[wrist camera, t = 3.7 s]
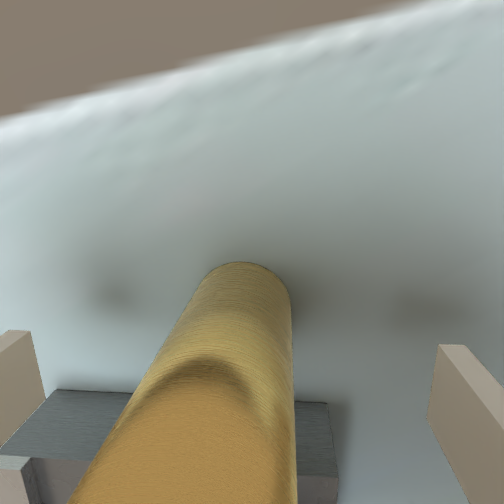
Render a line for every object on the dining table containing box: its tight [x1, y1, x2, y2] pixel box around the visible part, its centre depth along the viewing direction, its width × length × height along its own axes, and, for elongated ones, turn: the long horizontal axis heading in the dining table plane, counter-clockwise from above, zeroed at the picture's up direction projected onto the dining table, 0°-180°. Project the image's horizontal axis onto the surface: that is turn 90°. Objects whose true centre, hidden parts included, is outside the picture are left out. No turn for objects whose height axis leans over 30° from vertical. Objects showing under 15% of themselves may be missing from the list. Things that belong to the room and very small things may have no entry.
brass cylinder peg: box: [67, 262, 298, 504], centre depth 10 cm, size 4×4×12 cm
